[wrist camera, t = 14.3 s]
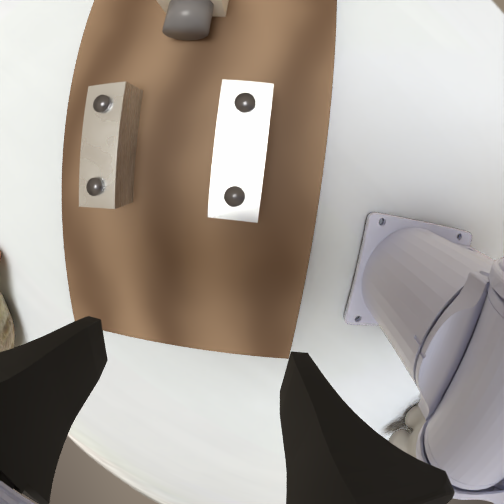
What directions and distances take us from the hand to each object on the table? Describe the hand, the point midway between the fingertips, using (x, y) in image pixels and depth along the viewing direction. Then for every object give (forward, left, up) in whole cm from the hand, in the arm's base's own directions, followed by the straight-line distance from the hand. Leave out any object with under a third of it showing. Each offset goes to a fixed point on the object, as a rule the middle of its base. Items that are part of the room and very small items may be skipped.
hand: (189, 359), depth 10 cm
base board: (+3, -9, -9) cm, 13 cm away
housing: (+3, -8, -8) cm, 12 cm away
